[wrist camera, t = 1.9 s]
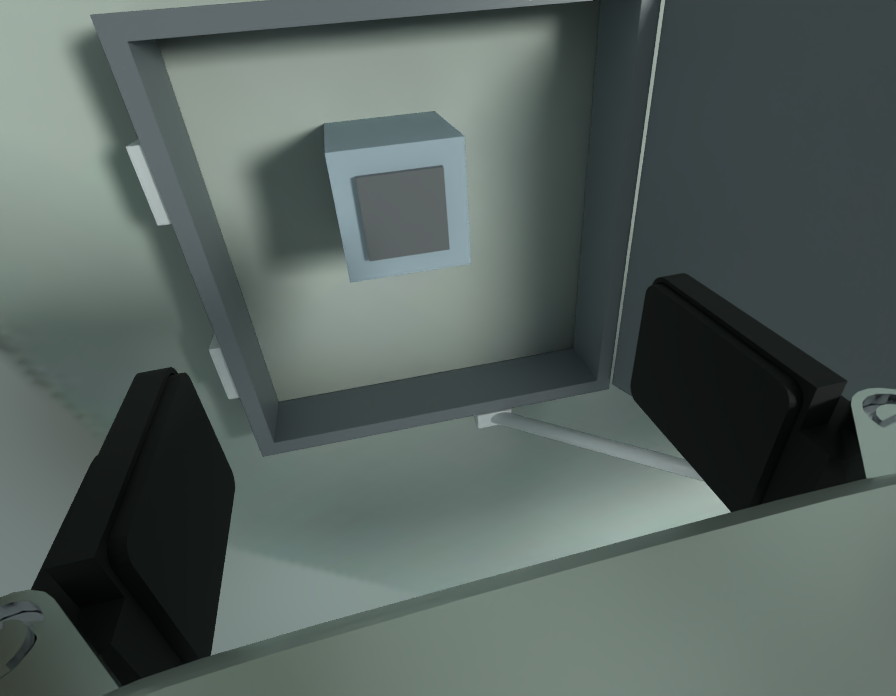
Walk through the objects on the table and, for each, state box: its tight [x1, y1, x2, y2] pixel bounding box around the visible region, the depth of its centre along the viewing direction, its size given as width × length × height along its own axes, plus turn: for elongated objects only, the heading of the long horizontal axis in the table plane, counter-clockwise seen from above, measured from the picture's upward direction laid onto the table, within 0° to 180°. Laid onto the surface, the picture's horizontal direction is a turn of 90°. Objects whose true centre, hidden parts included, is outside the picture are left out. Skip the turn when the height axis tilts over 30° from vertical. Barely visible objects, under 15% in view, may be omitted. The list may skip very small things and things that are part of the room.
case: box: [90, 0, 705, 482], centre depth 22 cm, size 24×21×12 cm
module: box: [324, 111, 471, 283], centre depth 22 cm, size 5×5×6 cm
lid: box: [612, 0, 896, 401], centre depth 18 cm, size 17×19×1 cm
